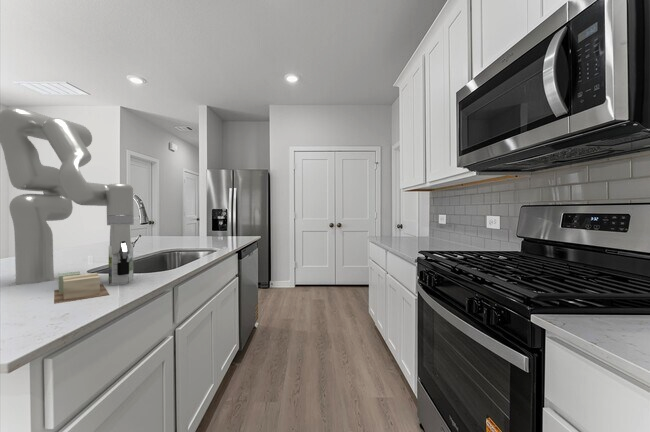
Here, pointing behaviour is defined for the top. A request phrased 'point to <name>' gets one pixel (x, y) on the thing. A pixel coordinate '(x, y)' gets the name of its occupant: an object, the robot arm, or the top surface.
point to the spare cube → (60, 279)
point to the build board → (60, 298)
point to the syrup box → (113, 261)
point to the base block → (81, 285)
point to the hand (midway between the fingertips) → (121, 272)
